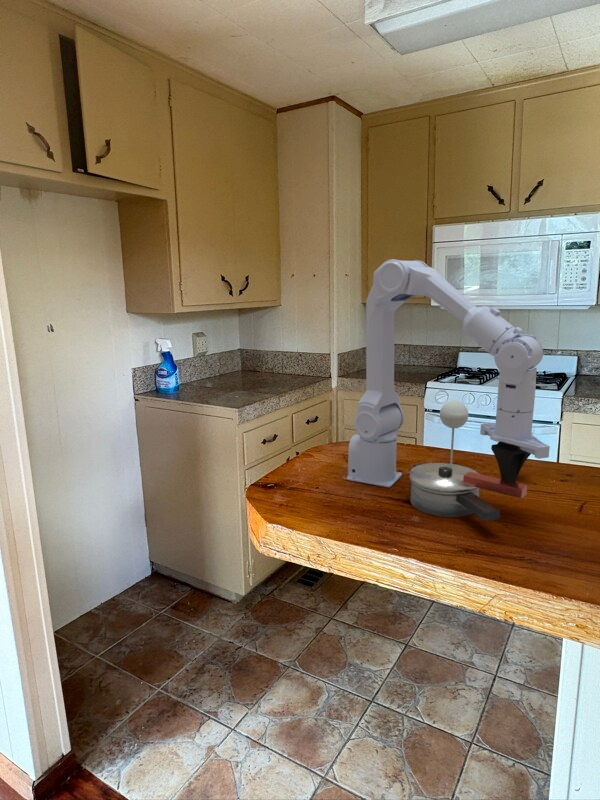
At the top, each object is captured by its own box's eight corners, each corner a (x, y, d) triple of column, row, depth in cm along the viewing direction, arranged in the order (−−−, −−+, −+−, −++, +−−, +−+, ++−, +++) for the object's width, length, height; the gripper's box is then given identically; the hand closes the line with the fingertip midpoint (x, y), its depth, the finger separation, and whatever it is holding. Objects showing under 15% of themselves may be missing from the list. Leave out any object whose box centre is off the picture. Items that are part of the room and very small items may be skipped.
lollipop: (433, 463, 118) (436, 398, 114) (458, 462, 118) (462, 397, 115) (442, 473, 112) (446, 404, 108) (469, 472, 112) (474, 404, 109)
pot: (384, 517, 91) (385, 492, 90) (415, 481, 107) (415, 460, 106) (496, 541, 83) (498, 513, 82) (511, 498, 99) (513, 475, 98)
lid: (396, 480, 96) (397, 470, 95) (430, 462, 105) (430, 452, 104) (509, 511, 82) (510, 499, 82) (536, 487, 92) (537, 476, 91)
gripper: (467, 401, 93) (463, 473, 96) (526, 421, 80) (519, 505, 83) (501, 398, 95) (495, 469, 99) (563, 417, 82) (555, 498, 85)
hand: (508, 485), depth 91 cm, fingers closed, pressing on lid
